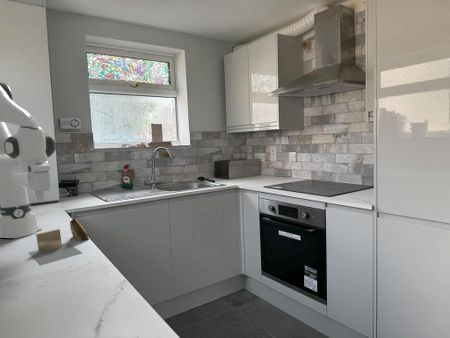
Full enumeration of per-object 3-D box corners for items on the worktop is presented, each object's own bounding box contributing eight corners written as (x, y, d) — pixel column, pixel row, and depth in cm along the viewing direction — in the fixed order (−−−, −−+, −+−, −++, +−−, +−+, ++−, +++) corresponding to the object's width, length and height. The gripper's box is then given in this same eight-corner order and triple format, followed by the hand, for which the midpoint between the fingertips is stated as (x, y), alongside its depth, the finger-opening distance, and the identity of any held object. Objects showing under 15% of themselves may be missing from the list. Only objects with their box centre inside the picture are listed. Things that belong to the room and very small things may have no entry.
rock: (66, 232, 140) (60, 235, 130) (77, 215, 141) (72, 217, 132) (88, 244, 142) (84, 248, 132) (99, 227, 143) (96, 230, 134)
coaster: (38, 251, 122) (36, 234, 122) (60, 245, 128) (58, 228, 127) (39, 252, 121) (36, 234, 120) (62, 246, 126) (59, 229, 126)
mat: (28, 253, 122) (28, 252, 122) (67, 243, 131) (67, 242, 131) (40, 266, 108) (40, 265, 108) (82, 254, 117) (82, 252, 117)
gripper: (21, 166, 131) (26, 199, 133) (32, 168, 116) (37, 205, 117) (38, 165, 135) (43, 197, 137) (51, 166, 120) (56, 202, 121)
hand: (40, 201), depth 127 cm, fingers closed
